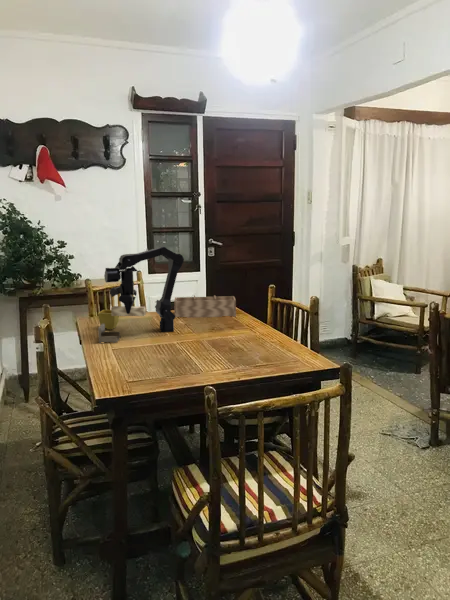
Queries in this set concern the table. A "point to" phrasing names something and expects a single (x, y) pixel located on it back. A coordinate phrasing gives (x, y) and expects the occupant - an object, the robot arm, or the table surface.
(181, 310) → the holder
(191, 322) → the table surface
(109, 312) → the flower pot
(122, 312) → the rail
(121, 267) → the robot arm
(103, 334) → the bracket
